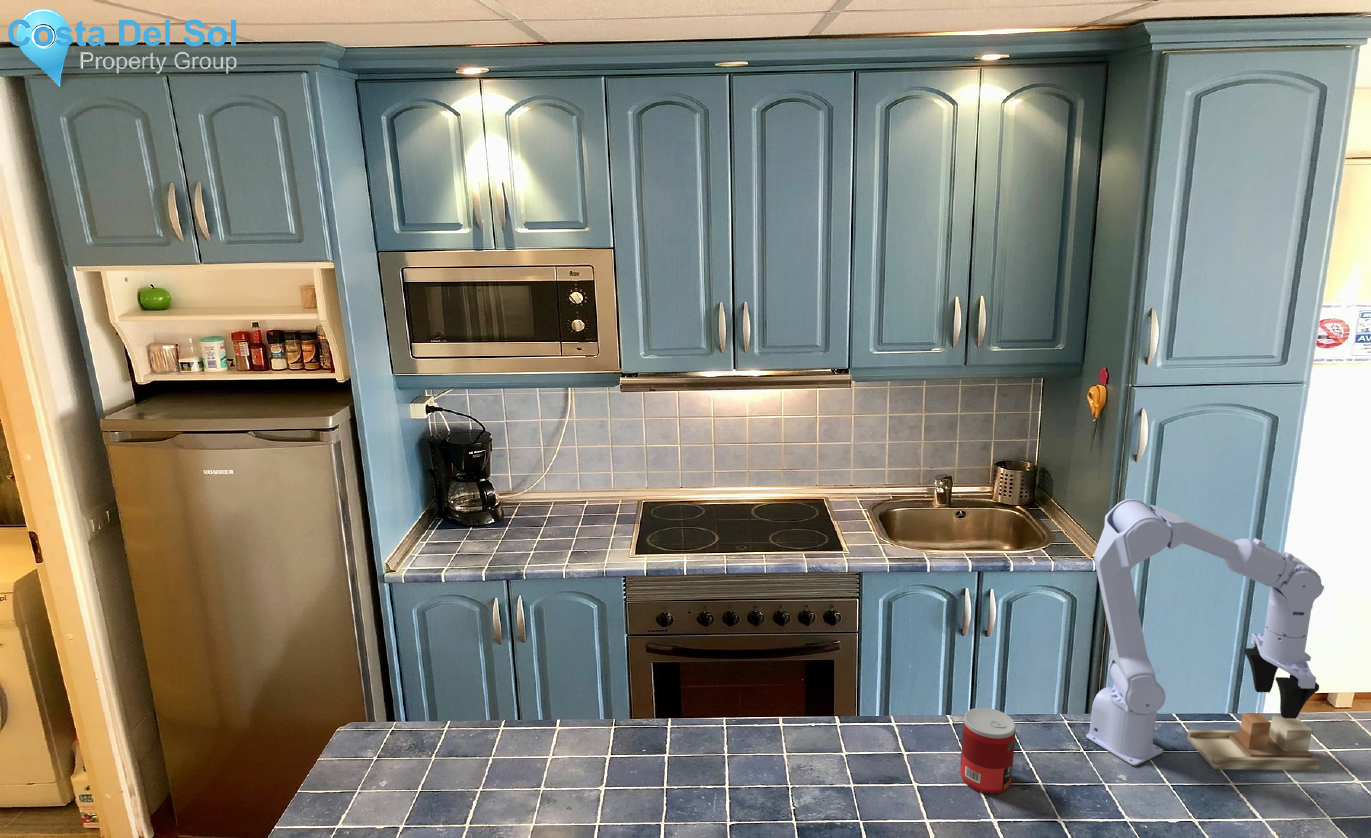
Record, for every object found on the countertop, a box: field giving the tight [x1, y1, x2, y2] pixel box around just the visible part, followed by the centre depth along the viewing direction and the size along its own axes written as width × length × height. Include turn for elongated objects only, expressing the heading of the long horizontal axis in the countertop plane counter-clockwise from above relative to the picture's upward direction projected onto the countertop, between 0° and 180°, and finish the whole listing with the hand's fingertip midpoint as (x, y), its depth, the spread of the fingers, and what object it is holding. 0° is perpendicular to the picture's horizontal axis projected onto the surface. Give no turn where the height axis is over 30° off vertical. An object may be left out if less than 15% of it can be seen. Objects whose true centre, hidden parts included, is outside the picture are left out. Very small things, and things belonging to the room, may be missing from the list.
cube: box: [1269, 715, 1313, 751], centre depth 144 cm, size 4×4×4 cm
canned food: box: [959, 707, 1017, 795], centre depth 138 cm, size 8×8×11 cm
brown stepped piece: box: [1229, 712, 1313, 758], centre depth 144 cm, size 10×6×6 cm, turn 88°
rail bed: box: [1186, 729, 1321, 771], centre depth 145 cm, size 17×8×2 cm, turn 88°
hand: (1275, 704), depth 141 cm, fingers open, 7 cm apart
